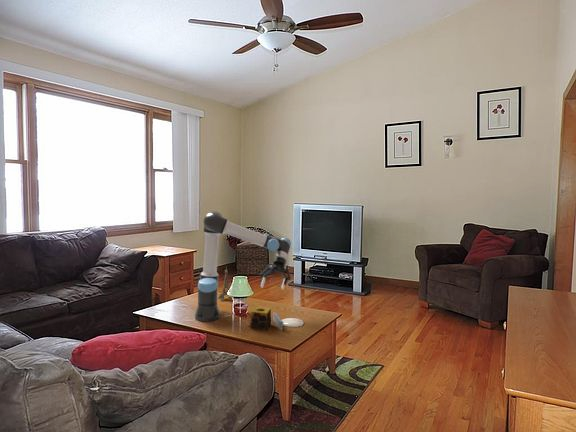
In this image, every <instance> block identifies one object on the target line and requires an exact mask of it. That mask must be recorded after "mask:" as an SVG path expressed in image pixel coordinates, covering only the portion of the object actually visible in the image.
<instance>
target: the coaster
mask: <svg viewBox="0 0 576 432" xmlns="http://www.w3.org/2000/svg"><path fill="white" fill-rule="evenodd" d="M281 320H282V321H283V327H288V328H297V327H302V326H303V325H304V323H305V322H304V320H302V319H300V318H297V317H296V318H295V317H287V318H284V319H281Z"/></svg>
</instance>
